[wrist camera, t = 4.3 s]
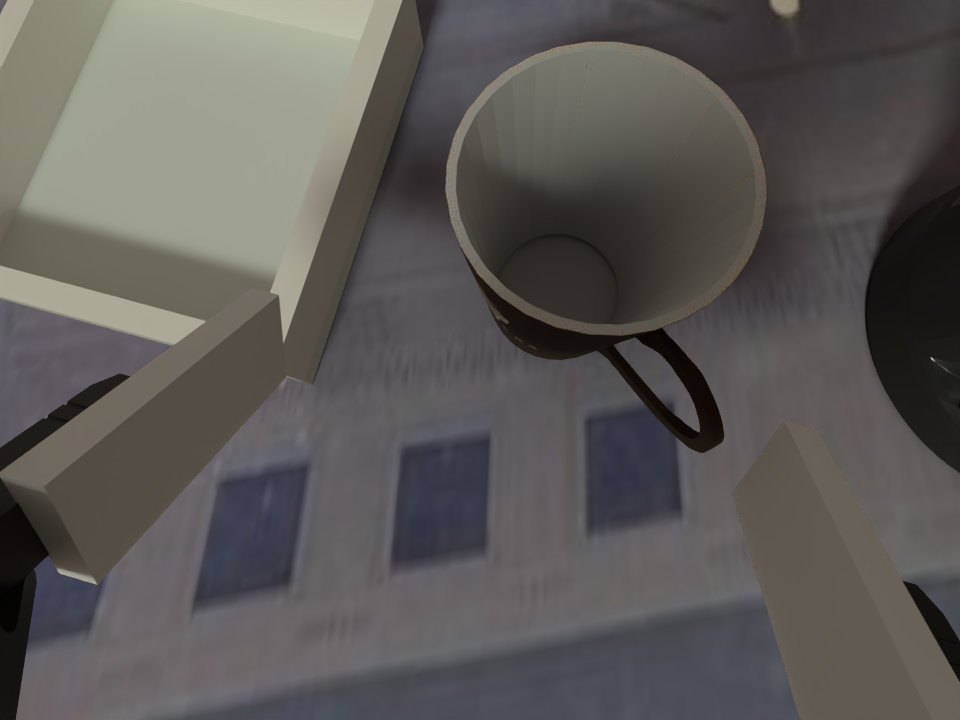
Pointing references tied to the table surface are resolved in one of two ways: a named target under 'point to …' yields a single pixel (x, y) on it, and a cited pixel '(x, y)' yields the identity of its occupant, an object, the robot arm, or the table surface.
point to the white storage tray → (195, 156)
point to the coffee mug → (607, 207)
